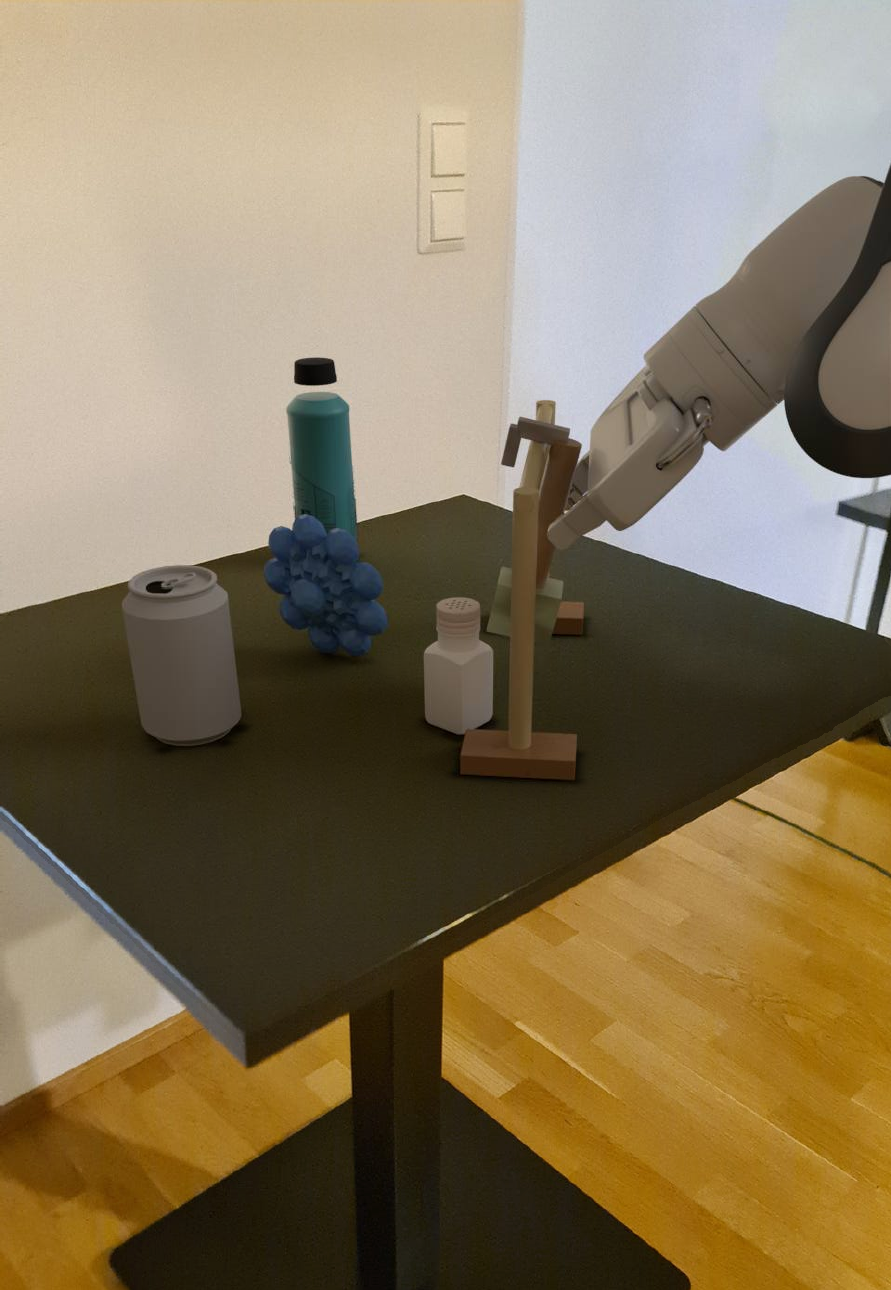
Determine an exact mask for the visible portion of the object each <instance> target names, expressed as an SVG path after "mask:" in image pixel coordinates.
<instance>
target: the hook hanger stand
mask: <svg viewBox="0 0 891 1290" xmlns="http://www.w3.org/2000/svg"><path fill="white" fill-rule="evenodd" d="M570 433H571V428H570V427H567V426H566V427H565V426H562V425H558V424H555V425H553V424H549V423H545V422H541V421H537V420H536V419H533V418H528V417H524V416H519V417H518V419H517V422H516V423H513V422H512V423H510V424H509V427H508V432H507V435H506V440H505V445H504V450H503V453H502V458H501V462H500V464H501V465H502V466H505V467H509V468H515V465H516V463H517V458H518V454H519V449H520V445H521V441H522V439H525V440H528V441H531V440H532V441H536V442H540V443H545V444H549V445H551V446H550V450H549V454H548V458H547V462H546V466H545V470H544V474H543V478H542V482H541V486H540V490H539V504H538V536H537V568H536V599H535V631H534V644H537V645H541V646H544V647H545V646H546V647H549V646H550V644H551V640H552V636H553V634H552V633H553V629H554V626H555V622H556V618H557V615H558V611H559V607H560V604H561V601H563V600H562V599H563V590H564V581H563V580H561V579H556V578H552V577H549V578H548V573H549V574H550V569H551V565H552V561H553V558H554V554H555V550H556V547H555V546H554V545H553V544H552V543H551V542H550V541H549V539H548V537H547V532H548V528H549V526H550V525H551V524H552V523H553V522H554V521H555V520H556V519H557V518H558V517H559V516H560V515H561V514H562V513H566V511H565V508H566V505H567V501H568V497H569V493H570V489H571V486H572V482H573V478H574V474H575V470H576V467H577V463H578V462H579V459H580V455H581V451H582V448H583V445H582V442H580V441H578V440H576V439H573V438H570ZM511 582H512V568H509V567H506V566H501V568H500V573H499V577H498V580H497V585H496V587H495V593H494V597H493V602H492V604H491V609H490V614H489V618H488V622H487V626H486V630H485V631H486V632H487V633H491V634H496V635H500V636H504V637H508V638H510V632H511Z"/></svg>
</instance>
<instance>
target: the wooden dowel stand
mask: <svg viewBox="0 0 891 1290" xmlns="http://www.w3.org/2000/svg"><path fill="white" fill-rule="evenodd" d="M556 405H557V403H556V401H555V400H550V399H540V400H536V402H535V420H537V421H541V422H545V423H549V424H553V425H556V407H557V406H556ZM529 441H530V442H529V445H528V449H527V453H526V458H525V460H524V461H525V462H524V466H523V470H522V475H521V478H520V482H519V485H518V486H519V487H517V488H514V489H513V491H512V533H511V536H512V537H511V539H512V540H511V542H512V543H511V569H512V582H511V632H510V637H509V638H510V640H509V686H508V689H509V690H508V693H509V694H508V730H497V729H496V730H495V729H493V730H492V729H477V728H475V729H467V730H466V733H465V734H464V737H463V742H462V746H461V751H460V755H459V761H460V763H459V764H460V765H459V767H460V769H459V774H460V775H465V776H482V777H484V776H485V777H502V778H503V777H504V778H523V779H541V780H559V781H575V779H576V764H577V763H576V762H577V743H578V735H577V734H575V733H557V732H553V733H552V732H537V731H536V732H535V731H532V723H533V694H534V693H533V691H534V690H533V689H534V657H535V643H534V631H535V599H536V568H537V536H538V504H539V490H540V486H541V482H542V478H543V474H544V470H545V466H546V462H547V458H548V454H549V450H550V446H551V445H549V444H545V443H540V442H536V441H532V440H529ZM548 578H550V572H549V573H548ZM584 609H585V602H584V601H564V600H561V604H560V607H559V611H558V615H557V618H556V622H555V626H554V629H553V633H552V635H570V636H572V635H573V636H574V635H575V636H582V635H583V631H584V630H583V629H584V613H585V612H584V611H585V610H584Z"/></svg>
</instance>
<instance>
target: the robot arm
mask: <svg viewBox="0 0 891 1290" xmlns="http://www.w3.org/2000/svg"><path fill="white" fill-rule="evenodd" d="M643 360H644V363H645V365H644V366H643V367H642V368H641V370H640V371H639V372H638V373H637V374H636V375H635V376H634V377H633V378H632V379H631V380H630V381H629V382H628V383H627V384H626V385H625V386H624V388H622V390H621V391H620V392H619V394H617V396H615V398H614V399H613V400H612V401H611V402H610V404H609V405H608V406H607V407H606V408H605V409H604V410H603V412H602V413H601V414H600V416H599V417H598V418H597V420H596V421H595V422H594V424H593V425H592V427H591V429H590V437H589V450H588V451H587V452H585V453H584V454H583V455H582V457H581V458H579V459H580V460H578V463H577V467H576V470H575V474H574V478H573V482H572V486H571V489H570V493H569V497H568V501H567V505H566V508H565V512H564V513H562V514H561V515H560V516H559V517H558V518H557V519H556V520H555V521H554V522H553V523H552V524H551V525H550V526H549V528H548V532H547V537H548V539H549V541H550V542H551V543H552V544H553V545H554V546H555V549H557V550H559V551H565V550H567V549H568V548H569V547H571V545H573V544H574V543H575V542H576V541H577V540H578V539H579V538H580V537H583V536H585V535H586V534H588V533H590V532H592V531H594V530H596V529H599V527H601V526H602V525H603V524H604V523H605V522H607V523H608V524H609V525H610V526H611V527H612V528H613V529H614V530H616V531H618V532H623V531H625V530H627V529H629V528H631V527H632V526H634V525H635V524H636V523H638V522H639V521H641V519H642V518H643V517H645V515H647V514H648V513H649V512H650V511H651V510H652V509H653V508H654V507H656V505H657V504H659V503H660V502H661V501H662V500H663V499H664V498H665V497H666V496H667V495H668V494H669V493H670V492H671V491H672V490H673V489H674V488H675V487H676V486H678V485H679V483H680V482H682V481H683V479H684V478H686V476H687V475H688V474H689V473H690V472H691V471H692V470H693V469H694V468H695V467H696V465H697V464H698V463H699V461H700V460H701V459H702V457H703V455H704V453H705V446H707V444H708V443H711V444H712V445H713V446H714V447H716V449H718V450H719V451H721V452H726V451H728V449H730V448H731V447H732V446H733V445H734V444H736V443H737V441H739V440H740V439H741V438H742V437H743V436H745V434H747V433H748V432H750V431H751V430H752V428H754V427H755V426H756V425H757V424H758V423H759V422H760V421H761V420H763V419H764V418H765V417H767V415H768V414H769V413H771V412H772V411H774V409H775V408H776V407H778V405H779V404H782V402H783V404H784V405H783V406H784V412H785V416H786V417H785V418H786V421H787V424H788V427H789V429H790V430H789V431H790V432H791V434H792V436H793V438H794V439H795V441H796V443H797V444H798V446H799V447H800V448H801V450H802V451H803V452H804V453H805V454H806V455H807V456H808V457H809V458H810V459H811V460H812V461H814V462H815V463H816V464H817V465H819V466H821V467H822V468H824V469H826V470H827V471H830V472H832V473H835V474H837V475H841V476H844V477H849V478H854V479H876V478H883V477H888V476H891V163H889V167H888V170H887V172H886V176H885V179H884V181H881V180H877V179H875V178H873V177H870V176H867V175H858V176H857V175H853V176H846V177H843V178H841V179H839V180H837V181H835V182H834V183H832V184H831V185H829V186H827V187H826V188H824V189H822V190H821V191H819V192H818V193H817V194H816V195H814V196H812V198H810V199H809V200H808V201H807V202H805V203H804V204H803V205H801V206H800V207H799V208H798V209H797V210H795V211H794V212H792V213H791V214H790V215H789V216H788V217H787V218H786V219H785V220H784V221H782V222H781V223H780V224H779V225H778V226H777V227H776V228H775V229H773V230H772V231H771V232H770V233H769V234H768V235H767V236H766V237H765V238H763V239H762V240H761V241H760V242H759V243H758V244H757V245H756V246H755V247H754V248H753V249H752V250H751V251H750V252H749V253H748V254H747V255H746V256H745V258H744V259H743V260H742V261H741V264H740V265H739V267H738V269H737V270H736V272H735V273H734V274H733V275H732V276H731V278H730V279H729V280H728V281H727V282H725V284H724V285H722V287H719V289H717V290H716V291H714V292H713V293H711V294H708V295H707V296H705V297H704V298H702V299H700V300H699V301H697V303H696V304H695V305H694V306H692V307H691V308H690V310H688V311H687V312H686V313H685V314H684V315H683V316H682V317H681V318H680V319H679V320H678V321H677V322H675V324H673V325H672V327H670V328H669V329H668V330H667V331H666V332H665V333H664V334H663V335H662V336H661V337H660V338H659V339H658V340H657V341H656V342H655V343H654V344H653V345H652V346H651V347H650V348H648V349H647V351H645V352H644V354H643Z"/></svg>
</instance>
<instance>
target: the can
mask: <svg viewBox="0 0 891 1290" xmlns="http://www.w3.org/2000/svg"><path fill="white" fill-rule="evenodd" d="M217 582H218V576H217V574H216V573H215V572H214V571H213V570H211V569H209V568H206V567H203V566H197V565H192V564H191V565H189V564H188V565H187V564H175V565H164V566H158V567H153V568H149V569H146V570H143V571H141V572H139V573H137V574H134V575H133V576H132V577H131V578H130V579H129V581H127V589H128V590H129V592H128V593H127V595H126V596H125V597H124V598H123V600H122V602H121V611H122V618H123V623H124V630H125V634H126V641H127V648H128V652H129V653H128V655H129V660H130V666H131V670H132V671H131V672H132V677H133V683H134V689H135V695H136V700H137V706H138V712H139V719H140V725H141V727H142V729H143V730H144V731H145V732H146V734H149V735H151V736H152V737H155V738H156V739H157V740H158V741H159V742H162V743H164V744H167V745H171V746H178V747H191V746H192V747H193V746H201V745H204V744H209V743H212V742H214V741H218V740H219V739H222V738H224V736H225V737H226V735H227V734H229V733H230V731H231V729H232V728H234V727H235V726H236V725H237V724H238V723H239V722H240V720H241V718H242V717H243V716H242V706H241V698H240V697H241V696H240V688H239V681H238V674H237V664H236V654H235V648H234V647H235V645H234V637H233V629H232V621H231V613H230V612H231V611H230V603H229V595H228V592H227V591H226V590H225V589H224V588H223V587H222V586H220V585H219V584H218V583H217Z"/></svg>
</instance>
